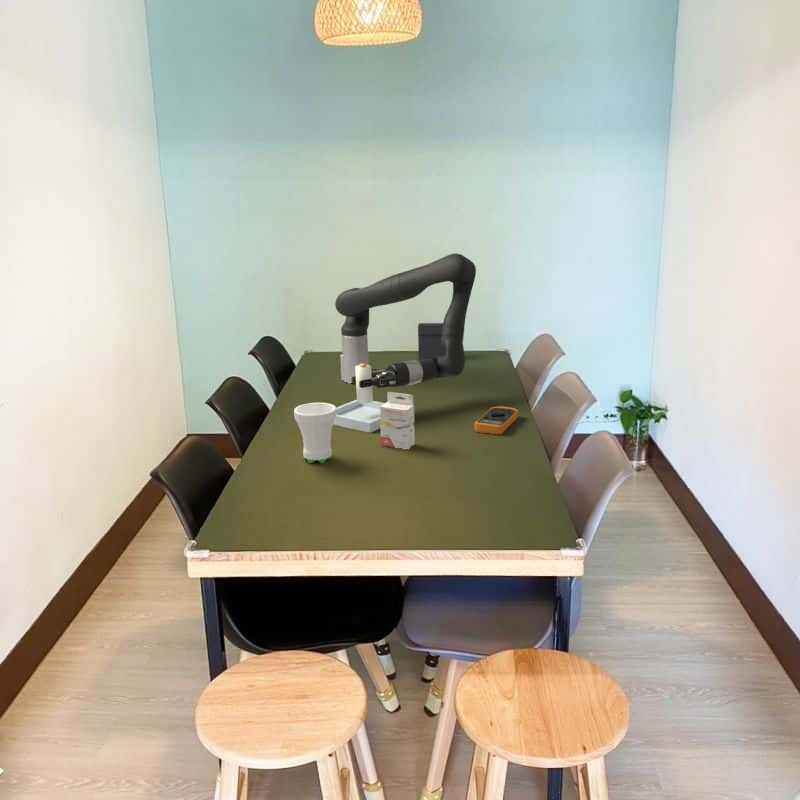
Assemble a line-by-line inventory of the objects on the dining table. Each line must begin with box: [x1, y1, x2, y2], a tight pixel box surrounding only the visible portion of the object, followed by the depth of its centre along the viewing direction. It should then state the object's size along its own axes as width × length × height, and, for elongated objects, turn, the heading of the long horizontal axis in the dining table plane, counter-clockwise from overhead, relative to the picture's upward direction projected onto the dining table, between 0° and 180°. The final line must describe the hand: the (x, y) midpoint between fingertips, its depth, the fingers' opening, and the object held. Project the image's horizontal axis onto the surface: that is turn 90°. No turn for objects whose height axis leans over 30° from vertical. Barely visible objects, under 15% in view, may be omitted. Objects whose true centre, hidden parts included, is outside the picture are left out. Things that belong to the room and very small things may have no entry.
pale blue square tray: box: [333, 399, 386, 434], centre depth 243 cm, size 18×18×3 cm
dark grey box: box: [417, 322, 446, 360], centre depth 308 cm, size 11×4×15 cm, turn 84°
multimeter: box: [474, 405, 519, 435], centre depth 235 cm, size 9×18×3 cm, turn 155°
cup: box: [293, 402, 337, 464], centre depth 210 cm, size 11×11×14 cm
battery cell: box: [355, 363, 374, 404], centre depth 240 cm, size 5×5×12 cm
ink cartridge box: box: [380, 391, 416, 450], centre depth 218 cm, size 9×5×15 cm, turn 65°
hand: (356, 382), depth 238 cm, fingers closed on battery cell, 4 cm apart
